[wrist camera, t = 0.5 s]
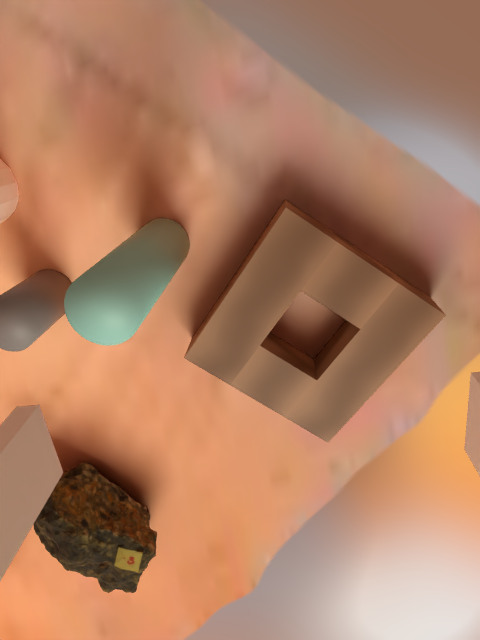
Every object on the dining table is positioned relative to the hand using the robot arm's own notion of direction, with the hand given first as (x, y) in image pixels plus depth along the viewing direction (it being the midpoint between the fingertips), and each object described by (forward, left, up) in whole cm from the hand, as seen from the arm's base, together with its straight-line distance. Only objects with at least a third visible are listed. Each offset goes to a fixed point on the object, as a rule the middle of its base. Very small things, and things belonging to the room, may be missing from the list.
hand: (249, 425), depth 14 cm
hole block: (+6, -4, -24) cm, 25 cm away
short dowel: (-13, -14, -24) cm, 30 cm away
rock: (+1, -32, -24) cm, 40 cm away
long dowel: (-7, -5, -24) cm, 25 cm away
